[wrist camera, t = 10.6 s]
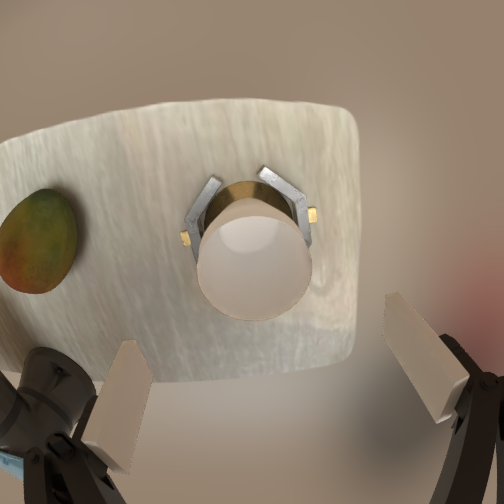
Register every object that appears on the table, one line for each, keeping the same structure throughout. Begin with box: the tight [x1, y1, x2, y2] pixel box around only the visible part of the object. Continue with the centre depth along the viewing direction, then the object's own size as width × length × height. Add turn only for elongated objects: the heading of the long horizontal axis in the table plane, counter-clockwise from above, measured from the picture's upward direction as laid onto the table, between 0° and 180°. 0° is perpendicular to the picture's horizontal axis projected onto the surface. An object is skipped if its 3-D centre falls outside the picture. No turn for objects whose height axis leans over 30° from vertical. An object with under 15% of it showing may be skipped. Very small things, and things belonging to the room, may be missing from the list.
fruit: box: [0, 189, 77, 294], centre depth 27 cm, size 12×13×10 cm
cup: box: [197, 198, 312, 321], centre depth 28 cm, size 9×9×12 cm
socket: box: [180, 165, 317, 264], centre depth 32 cm, size 15×13×2 cm
